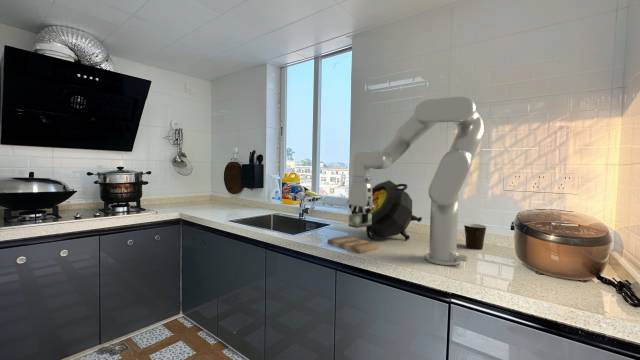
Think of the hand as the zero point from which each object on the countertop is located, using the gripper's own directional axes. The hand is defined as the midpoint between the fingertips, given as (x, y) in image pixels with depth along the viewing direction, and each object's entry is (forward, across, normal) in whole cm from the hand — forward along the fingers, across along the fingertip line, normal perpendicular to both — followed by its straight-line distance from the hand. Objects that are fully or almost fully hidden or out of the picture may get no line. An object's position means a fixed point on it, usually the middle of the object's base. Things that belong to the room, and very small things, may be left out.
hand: (359, 221), depth 124 cm
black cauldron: (+12, +3, -25) cm, 28 cm away
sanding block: (+2, 0, 0) cm, 2 cm away
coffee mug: (+11, -33, -39) cm, 52 cm away
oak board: (+12, +4, 0) cm, 13 cm away
